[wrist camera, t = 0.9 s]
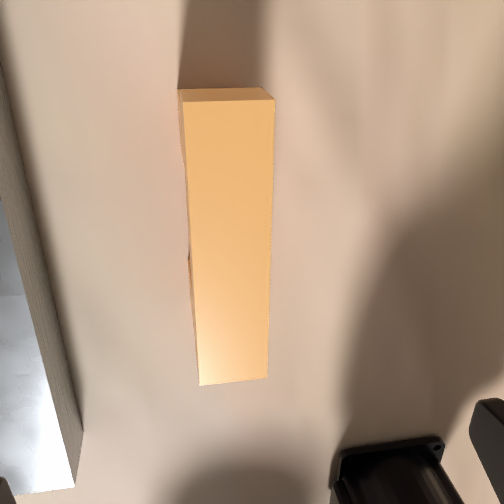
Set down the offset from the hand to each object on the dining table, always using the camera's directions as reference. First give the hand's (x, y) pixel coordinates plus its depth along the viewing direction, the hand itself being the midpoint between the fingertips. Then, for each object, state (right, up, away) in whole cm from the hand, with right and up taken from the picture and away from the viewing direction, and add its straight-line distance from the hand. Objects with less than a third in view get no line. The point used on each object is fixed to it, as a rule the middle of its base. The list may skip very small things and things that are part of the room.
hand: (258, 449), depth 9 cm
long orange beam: (-2, +6, +10) cm, 12 cm away
